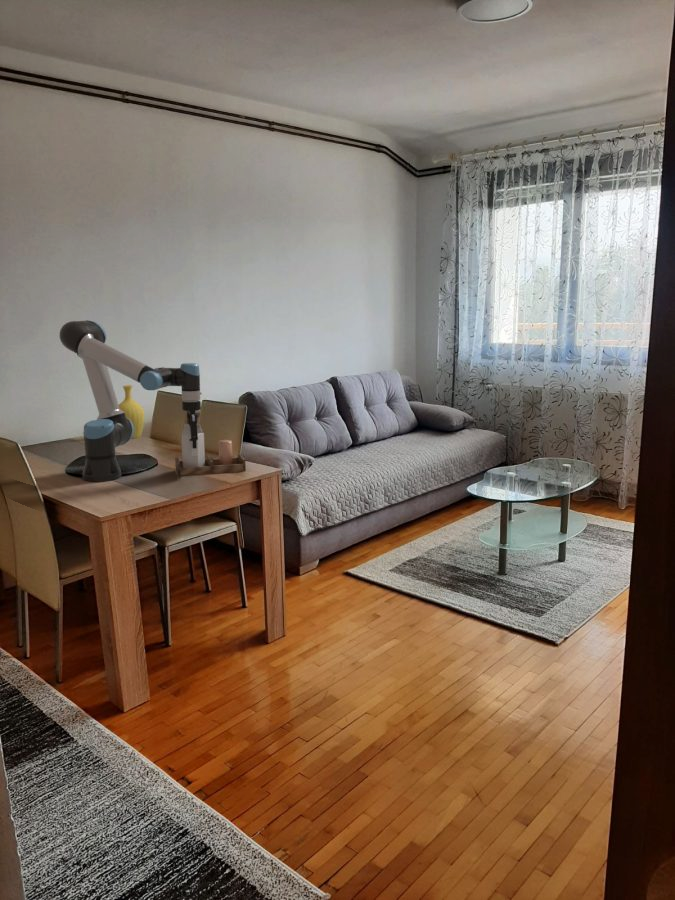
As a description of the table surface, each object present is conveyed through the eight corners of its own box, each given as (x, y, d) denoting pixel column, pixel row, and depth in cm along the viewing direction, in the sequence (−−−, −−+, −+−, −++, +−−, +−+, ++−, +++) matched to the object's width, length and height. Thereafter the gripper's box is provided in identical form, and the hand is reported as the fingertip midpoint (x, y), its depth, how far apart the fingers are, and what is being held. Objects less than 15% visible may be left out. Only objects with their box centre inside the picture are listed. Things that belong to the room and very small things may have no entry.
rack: (178, 478, 273) (177, 463, 271) (175, 470, 286) (175, 456, 284) (245, 473, 281) (245, 459, 280) (240, 466, 294) (239, 452, 293)
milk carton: (198, 470, 277) (196, 426, 273) (182, 469, 278) (180, 425, 274) (205, 466, 284) (203, 423, 280) (189, 466, 285) (187, 422, 281)
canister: (220, 470, 282) (219, 442, 279) (218, 467, 287) (217, 440, 284) (233, 469, 283) (232, 442, 281) (231, 466, 288) (230, 439, 286)
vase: (127, 433, 371) (124, 383, 365) (151, 435, 366) (149, 384, 360) (108, 438, 356) (105, 386, 350) (134, 440, 351) (131, 388, 345)
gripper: (203, 404, 266) (205, 458, 270) (197, 397, 286) (199, 447, 291) (184, 404, 263) (186, 459, 268) (180, 397, 284) (182, 448, 289)
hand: (193, 453), depth 279 cm, fingers closed on milk carton, 9 cm apart
